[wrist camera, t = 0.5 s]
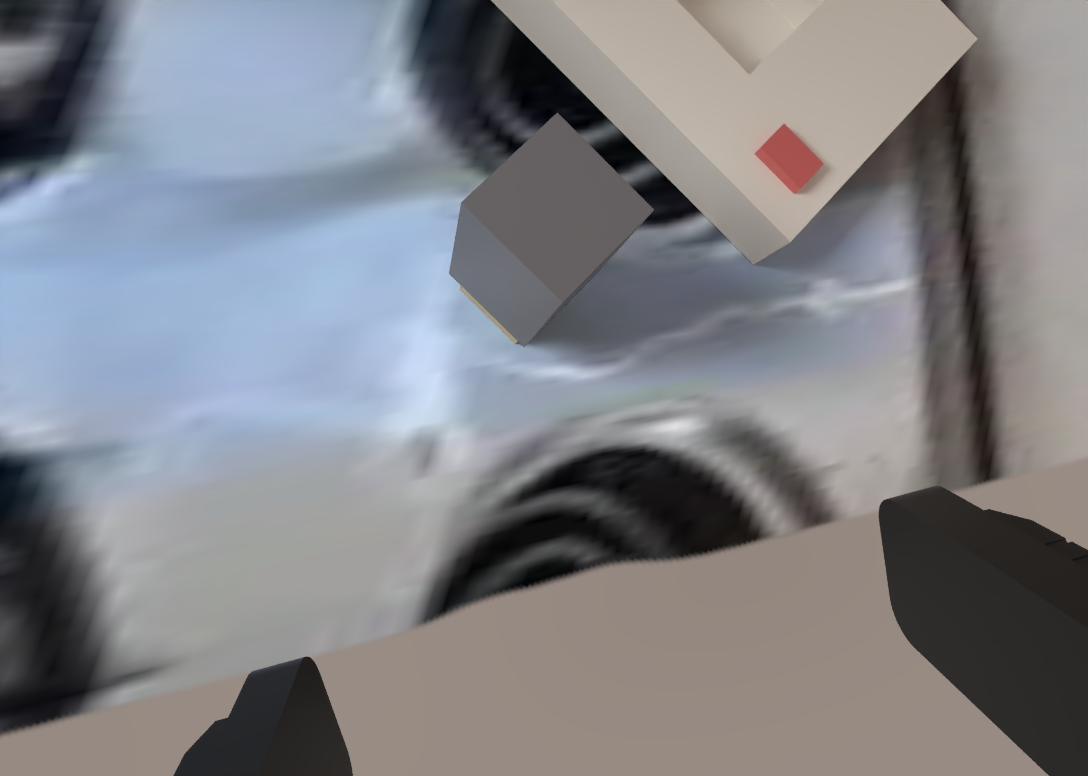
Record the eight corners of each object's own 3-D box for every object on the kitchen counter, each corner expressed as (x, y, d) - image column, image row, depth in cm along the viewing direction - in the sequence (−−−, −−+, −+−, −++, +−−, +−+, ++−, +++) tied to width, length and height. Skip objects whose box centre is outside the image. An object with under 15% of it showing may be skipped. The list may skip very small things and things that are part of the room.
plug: (446, 289, 32) (461, 202, 22) (513, 224, 33) (557, 112, 23) (515, 356, 33) (562, 302, 22) (580, 291, 33) (653, 209, 23)
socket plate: (477, -13, 34) (486, -78, 30) (675, -183, 37) (706, -262, 33) (753, 264, 35) (797, 237, 31) (926, 78, 38) (987, 31, 34)
